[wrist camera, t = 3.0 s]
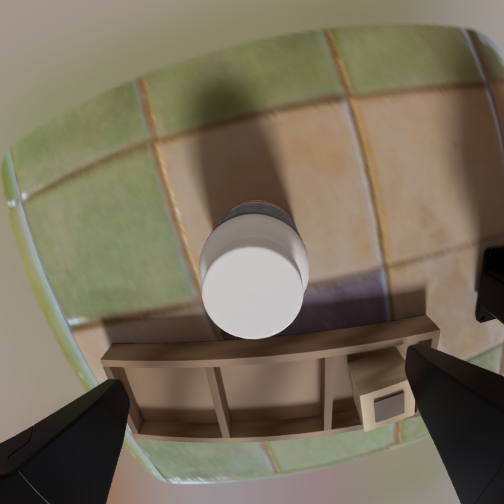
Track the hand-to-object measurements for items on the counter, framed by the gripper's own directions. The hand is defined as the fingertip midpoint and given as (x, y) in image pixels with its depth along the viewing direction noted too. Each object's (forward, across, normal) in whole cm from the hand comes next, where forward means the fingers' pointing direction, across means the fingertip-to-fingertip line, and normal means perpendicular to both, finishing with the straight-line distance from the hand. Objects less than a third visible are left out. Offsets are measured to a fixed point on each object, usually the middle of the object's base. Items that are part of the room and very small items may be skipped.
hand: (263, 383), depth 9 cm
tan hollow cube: (+12, -8, +10) cm, 18 cm away
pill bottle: (+13, 0, -1) cm, 13 cm away
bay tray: (+13, 0, +10) cm, 16 cm away
